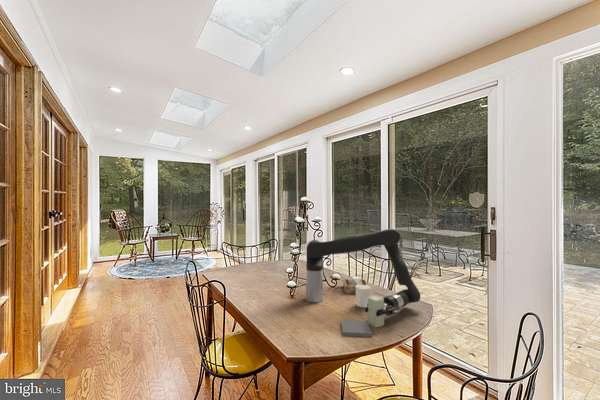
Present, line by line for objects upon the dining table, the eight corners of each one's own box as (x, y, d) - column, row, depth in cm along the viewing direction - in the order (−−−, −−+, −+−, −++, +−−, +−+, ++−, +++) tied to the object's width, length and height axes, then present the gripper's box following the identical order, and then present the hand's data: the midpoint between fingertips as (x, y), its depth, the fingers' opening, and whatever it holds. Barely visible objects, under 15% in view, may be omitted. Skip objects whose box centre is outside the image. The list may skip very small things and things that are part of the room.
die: (351, 287, 195) (344, 277, 191) (363, 281, 194) (356, 271, 190) (354, 296, 187) (347, 285, 183) (367, 290, 186) (360, 279, 183)
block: (376, 327, 135) (376, 300, 135) (368, 323, 140) (367, 297, 140) (383, 324, 138) (383, 298, 138) (375, 321, 142) (375, 295, 142)
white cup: (367, 309, 157) (367, 290, 157) (353, 306, 161) (353, 287, 161) (372, 304, 164) (372, 286, 164) (358, 301, 168) (358, 283, 168)
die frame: (345, 293, 182) (345, 286, 182) (343, 285, 197) (343, 278, 197) (368, 294, 181) (369, 286, 181) (365, 286, 196) (365, 279, 196)
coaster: (342, 335, 128) (342, 332, 128) (341, 323, 140) (341, 320, 140) (371, 336, 127) (371, 333, 127) (367, 324, 139) (367, 321, 139)
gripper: (379, 291, 153) (358, 299, 142) (405, 299, 142) (385, 308, 131) (379, 306, 153) (358, 315, 142) (405, 315, 142) (385, 325, 131)
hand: (371, 311), depth 137 cm, fingers closed on block, 5 cm apart
